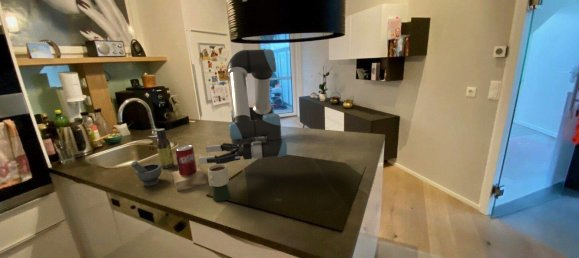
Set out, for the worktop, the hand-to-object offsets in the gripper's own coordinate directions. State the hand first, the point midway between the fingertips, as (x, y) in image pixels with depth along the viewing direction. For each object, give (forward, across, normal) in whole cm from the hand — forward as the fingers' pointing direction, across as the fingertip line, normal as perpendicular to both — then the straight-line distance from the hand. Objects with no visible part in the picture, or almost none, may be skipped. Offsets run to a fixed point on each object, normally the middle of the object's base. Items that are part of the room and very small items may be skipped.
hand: (202, 154), depth 104 cm
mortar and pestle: (+25, +2, -12) cm, 28 cm away
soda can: (+7, 0, -8) cm, 11 cm away
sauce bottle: (+24, +20, -12) cm, 33 cm away
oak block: (+7, 0, -12) cm, 14 cm away
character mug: (-9, -17, -12) cm, 23 cm away
